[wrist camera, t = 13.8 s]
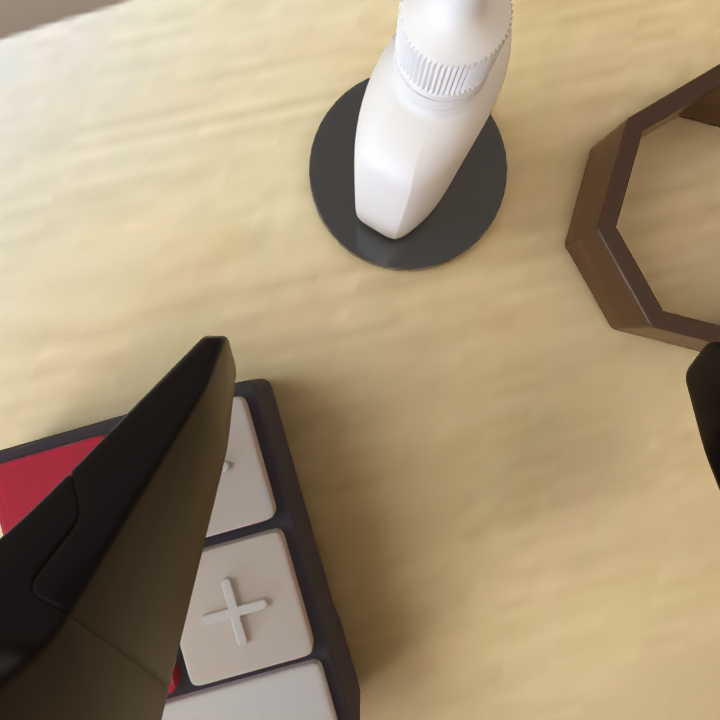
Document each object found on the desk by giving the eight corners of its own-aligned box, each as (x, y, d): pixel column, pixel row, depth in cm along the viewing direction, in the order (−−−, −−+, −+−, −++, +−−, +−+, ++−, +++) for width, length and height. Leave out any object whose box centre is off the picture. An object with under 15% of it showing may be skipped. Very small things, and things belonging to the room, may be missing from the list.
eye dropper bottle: (325, 163, 21) (278, -67, 9) (439, 95, 21) (546, -229, 9) (376, 253, 21) (398, 143, 9) (491, 186, 21) (662, -14, 9)
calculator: (249, 378, 18) (362, 777, 18) (272, 375, 22) (363, 697, 22) (-38, 460, 18) (71, 857, 18) (39, 441, 23) (128, 762, 22)
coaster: (393, 311, 22) (394, 310, 21) (270, 160, 22) (268, 156, 21) (543, 187, 22) (547, 184, 21) (421, 33, 21) (422, 27, 21)
